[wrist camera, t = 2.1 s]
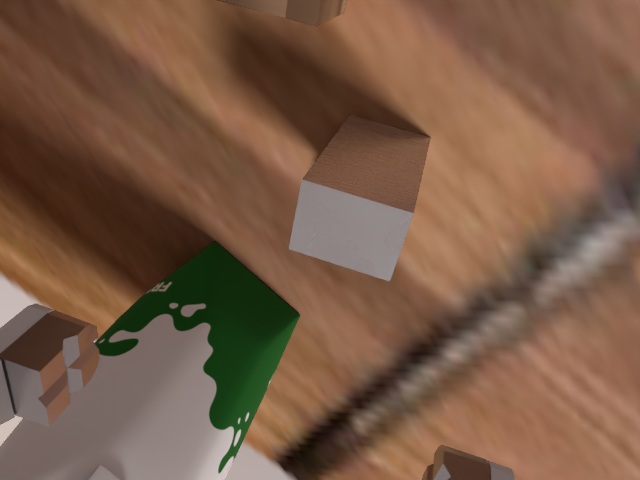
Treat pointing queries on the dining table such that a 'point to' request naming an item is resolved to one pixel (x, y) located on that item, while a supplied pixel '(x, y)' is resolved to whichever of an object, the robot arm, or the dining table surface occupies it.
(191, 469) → the milk carton
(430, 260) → the dining table surface
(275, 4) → the wooden tray
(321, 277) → the dining table surface
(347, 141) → the grey block
